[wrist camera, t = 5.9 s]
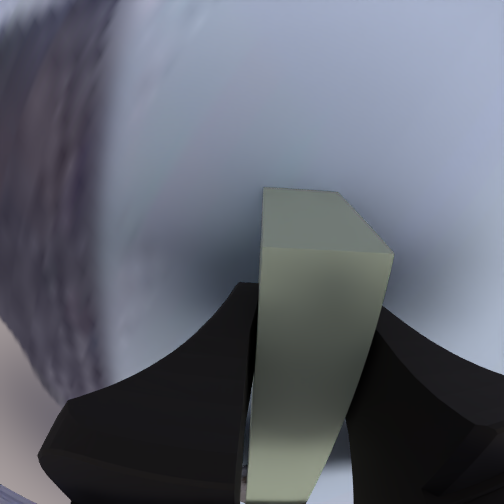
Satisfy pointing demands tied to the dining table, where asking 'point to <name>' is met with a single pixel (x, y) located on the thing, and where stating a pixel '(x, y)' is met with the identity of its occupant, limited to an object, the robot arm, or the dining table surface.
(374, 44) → the dining table surface
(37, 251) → the dining table surface
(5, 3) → the dining table surface
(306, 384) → the bar
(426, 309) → the dining table surface
